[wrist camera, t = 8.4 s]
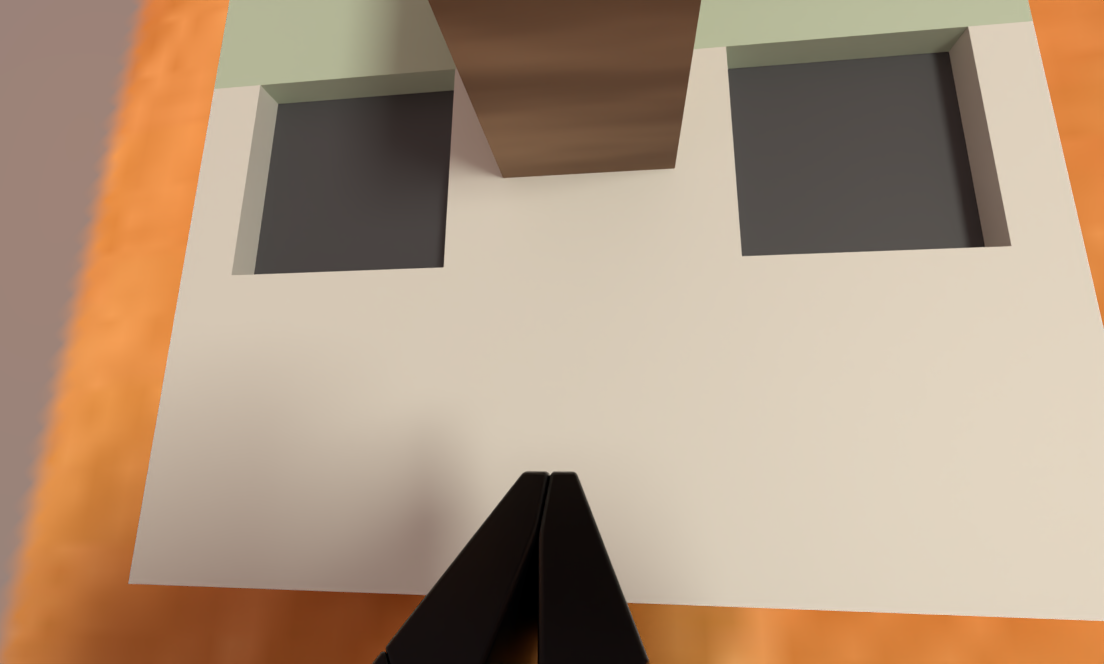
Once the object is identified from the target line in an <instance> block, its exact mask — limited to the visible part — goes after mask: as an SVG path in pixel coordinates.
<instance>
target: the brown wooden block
mask: <svg viewBox="0 0 1104 664" xmlns="http://www.w3.org/2000/svg"><path fill="white" fill-rule="evenodd" d="M428 1H429V4H430V6H431V9H432V11H433V13H434V16H435V18H436V20H437V23H438V25H439V28H440V30H441V32H442V35H443V37H444V39H445V42H446V44H447V46H448V49H449V51H450V54H451V56H452V58H453V61H454V63H455V65H456V68H457V70H458V73H459V75H460V77H461V80H462V82H463V84H464V87H465V89H466V91H467V94H468V96H469V99H470V101H471V103H472V106H473V108H474V110H475V113H476V115H477V118H478V120H479V122H480V125H481V127H482V129H483V132H484V134H485V136H486V139H487V141H488V144H489V146H490V148H491V151H492V153H493V155H494V158H495V160H496V163H497V165H498V167H499V170H500V172H501V174H502V177H503V178H515V177H532V176H550V175H568V174H585V173H603V172H621V171H638V170H656V169H674V168H675V164H676V157H677V151H678V145H679V138H680V132H681V126H682V119H683V113H684V107H685V100H686V94H687V88H688V81H689V75H690V69H691V62H692V56H693V50H694V43H695V37H696V31H697V24H698V18H699V12H700V5H701V0H428Z"/></svg>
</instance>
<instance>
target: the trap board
mask: <svg viewBox="0 0 1104 664" xmlns="http://www.w3.org/2000/svg"><path fill="white" fill-rule="evenodd" d="M526 471H546V472H548V473H549V474H551V473H552V472H554V471H573V472H575V473H576V474H577V475H578V477H579V480H580V482H581V485H582V487H583V490H584V493H585V495H586V498H587V500H588V503H589V506H590V508H591V511H592V513H593V516H594V519H595V521H596V524H597V526H598V529H599V532H600V534H601V537H602V539H603V542H604V545H605V547H606V550H607V552H608V555H609V558H610V560H611V563H612V565H613V568H614V571H615V573H616V576H617V578H618V581H619V584H620V586H621V589H622V591H623V594H624V597H625V599H626V602H627V603H648V604H674V605H700V606H726V607H753V608H779V609H805V610H831V611H858V612H884V613H910V614H936V615H962V616H989V617H1015V618H1041V619H1067V620H1093V621H1104V328H1103V324H1102V319H1101V315H1100V311H1099V306H1098V302H1097V298H1096V293H1095V289H1094V285H1093V280H1092V276H1091V272H1090V267H1089V263H1088V259H1087V254H1086V250H1085V246H1084V241H1083V237H1082V233H1081V228H1080V224H1079V220H1078V215H1077V211H1076V207H1075V202H1074V198H1073V194H1072V189H1071V185H1070V181H1069V176H1068V172H1067V168H1066V163H1065V159H1064V155H1063V150H1062V146H1061V142H1060V137H1059V133H1058V129H1057V124H1056V120H1055V115H1054V111H1053V107H1052V102H1051V98H1050V94H1049V89H1048V85H1047V81H1046V76H1045V72H1044V68H1043V63H1042V59H1041V55H1040V50H1039V46H1038V42H1037V37H1036V33H1035V29H1034V24H1033V20H1032V16H1031V11H1030V7H1029V3H1028V0H701V5H700V12H699V18H698V24H697V31H696V37H695V43H694V50H693V56H692V62H691V69H690V75H689V81H688V88H687V94H686V100H685V107H684V113H683V119H682V126H681V132H680V138H679V145H678V151H677V157H676V164H675V168H674V169H656V170H638V171H621V172H603V173H585V174H568V175H550V176H532V177H515V178H503V177H502V174H501V172H500V170H499V167H498V165H497V163H496V160H495V158H494V155H493V153H492V151H491V148H490V146H489V144H488V141H487V139H486V136H485V134H484V132H483V129H482V127H481V125H480V122H479V120H478V118H477V115H476V113H475V110H474V108H473V106H472V103H471V101H470V99H469V96H468V94H467V91H466V89H465V87H464V84H463V82H462V80H461V77H460V75H459V73H458V70H457V68H456V65H455V63H454V61H453V58H452V56H451V54H450V51H449V49H448V46H447V44H446V42H445V39H444V37H443V35H442V32H441V30H440V28H439V25H438V23H437V20H436V18H435V16H434V13H433V11H432V9H431V6H430V4H429V1H428V0H230V2H229V7H228V13H227V19H226V25H225V30H224V36H223V42H222V48H221V53H220V59H219V65H218V71H217V76H216V82H215V88H214V94H213V99H212V105H211V111H210V117H209V122H208V128H207V134H206V139H205V145H204V151H203V157H202V162H201V168H200V174H199V180H198V185H197V191H196V197H195V203H194V208H193V214H192V220H191V226H190V231H189V237H188V243H187V249H186V254H185V260H184V266H183V272H182V277H181V283H180V289H179V295H178V300H177V306H176V312H175V318H174V323H173V329H172V335H171V341H170V346H169V352H168V358H167V364H166V369H165V375H164V381H163V387H162V392H161V398H160V404H159V410H158V415H157V421H156V427H155V433H154V438H153V444H152V450H151V456H150V461H149V467H148V473H147V479H146V484H145V490H144V496H143V502H142V507H141V513H140V519H139V525H138V530H137V536H136V542H135V548H134V553H133V559H132V565H131V571H130V576H129V582H128V584H150V585H176V586H202V587H229V588H255V589H281V590H307V591H333V592H360V593H386V594H412V595H427V594H428V592H429V591H430V590H431V589H432V587H433V586H434V585H435V584H436V582H437V581H438V580H439V578H440V577H441V576H442V575H443V573H444V572H445V571H446V570H447V568H448V567H449V566H450V564H451V563H452V562H453V561H454V559H455V558H456V557H457V556H458V554H459V553H460V552H461V550H462V549H463V548H464V547H465V545H466V544H467V543H468V542H469V540H470V539H471V538H472V536H473V535H474V534H475V533H476V531H477V530H478V529H479V528H480V526H481V525H482V524H483V522H484V521H485V520H486V519H487V517H488V516H489V515H490V514H491V512H492V511H493V510H494V508H495V507H496V506H497V505H498V503H499V502H500V501H501V500H502V498H503V497H504V496H505V494H506V493H507V492H508V491H509V489H510V488H511V487H512V486H513V484H514V483H515V482H516V480H517V479H518V478H519V477H520V475H521V474H522V473H524V472H526Z"/></svg>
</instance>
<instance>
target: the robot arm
mask: <svg viewBox="0 0 1104 664" xmlns="http://www.w3.org/2000/svg"><path fill="white" fill-rule="evenodd" d="M386 653H387V654H386ZM372 664H649V659H648V656H647V654H646V651H645V649H644V646H643V643H642V641H641V638H640V636H639V633H638V630H637V628H636V625H635V623H634V620H633V617H632V615H631V612H630V610H629V607H628V604H627V602H626V599H625V597H624V594H623V591H622V589H621V586H620V584H619V581H618V578H617V576H616V573H615V571H614V568H613V565H612V563H611V560H610V558H609V555H608V552H607V550H606V547H605V545H604V542H603V539H602V537H601V534H600V532H599V529H598V526H597V524H596V521H595V519H594V516H593V513H592V511H591V508H590V506H589V503H588V500H587V498H586V495H585V493H584V490H583V487H582V485H581V482H580V480H579V477H578V475H577V474H576V473H575V472H573V471H554V472H552V473H551V474H549V473H548V472H546V471H526V472H524V473H522V474H521V475H520V477H519V478H518V479H517V480H516V482H515V483H514V484H513V486H512V487H511V488H510V489H509V491H508V492H507V493H506V494H505V496H504V497H503V498H502V500H501V501H500V502H499V503H498V505H497V506H496V507H495V508H494V510H493V511H492V512H491V514H490V515H489V516H488V517H487V519H486V520H485V521H484V522H483V524H482V525H481V526H480V528H479V529H478V530H477V531H476V533H475V534H474V535H473V536H472V538H471V539H470V540H469V542H468V543H467V544H466V545H465V547H464V548H463V549H462V550H461V552H460V553H459V554H458V556H457V557H456V558H455V559H454V561H453V562H452V563H451V564H450V566H449V567H448V568H447V570H446V571H445V572H444V573H443V575H442V576H441V577H440V578H439V580H438V581H437V582H436V584H435V585H434V586H433V587H432V589H431V590H430V591H429V592H428V594H427V595H426V596H425V598H424V599H423V600H422V601H421V603H420V604H419V605H418V606H417V608H416V609H415V610H414V612H413V613H412V614H411V615H410V617H409V618H408V619H407V620H406V622H405V623H404V624H403V626H402V627H401V628H400V629H399V631H398V632H397V633H396V634H395V636H394V637H393V638H392V640H391V641H390V642H389V643H388V645H387V646H386V652H381V653H380V654H379V656H378V657H377V658H376V659H375V661H374V662H373V663H372Z"/></svg>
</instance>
